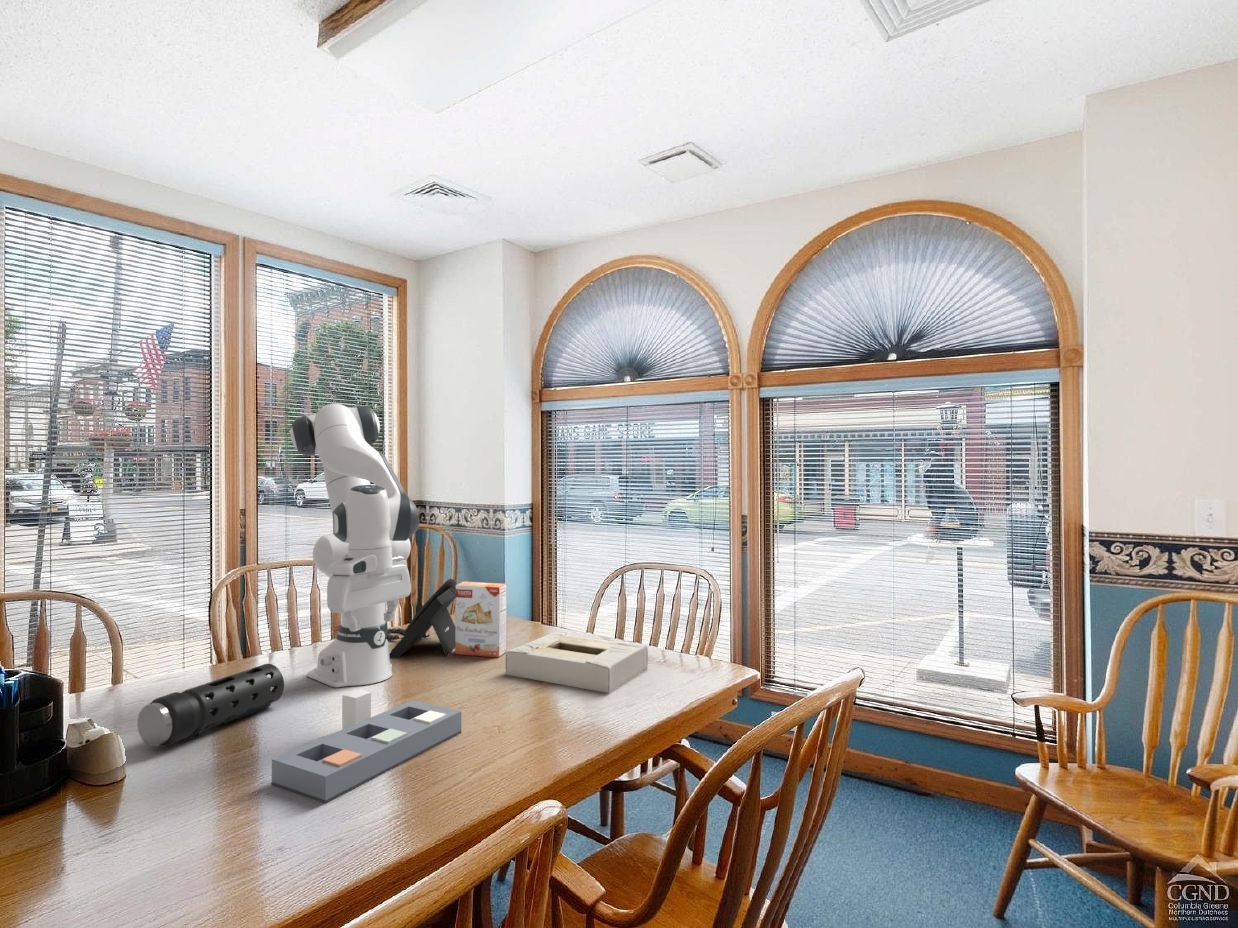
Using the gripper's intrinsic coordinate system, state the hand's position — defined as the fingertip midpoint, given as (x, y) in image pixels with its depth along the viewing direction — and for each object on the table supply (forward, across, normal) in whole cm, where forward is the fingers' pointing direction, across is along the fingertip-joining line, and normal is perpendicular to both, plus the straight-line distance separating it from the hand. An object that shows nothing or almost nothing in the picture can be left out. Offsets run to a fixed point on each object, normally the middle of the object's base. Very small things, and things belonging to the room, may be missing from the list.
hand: (372, 625), depth 148 cm
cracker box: (+22, -56, -16) cm, 62 cm away
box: (+24, -54, +18) cm, 62 cm away
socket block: (+22, +10, +10) cm, 27 cm away
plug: (+22, +3, -3) cm, 22 cm away
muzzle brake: (+21, +15, -31) cm, 41 cm away
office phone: (+21, -54, -41) cm, 71 cm away
